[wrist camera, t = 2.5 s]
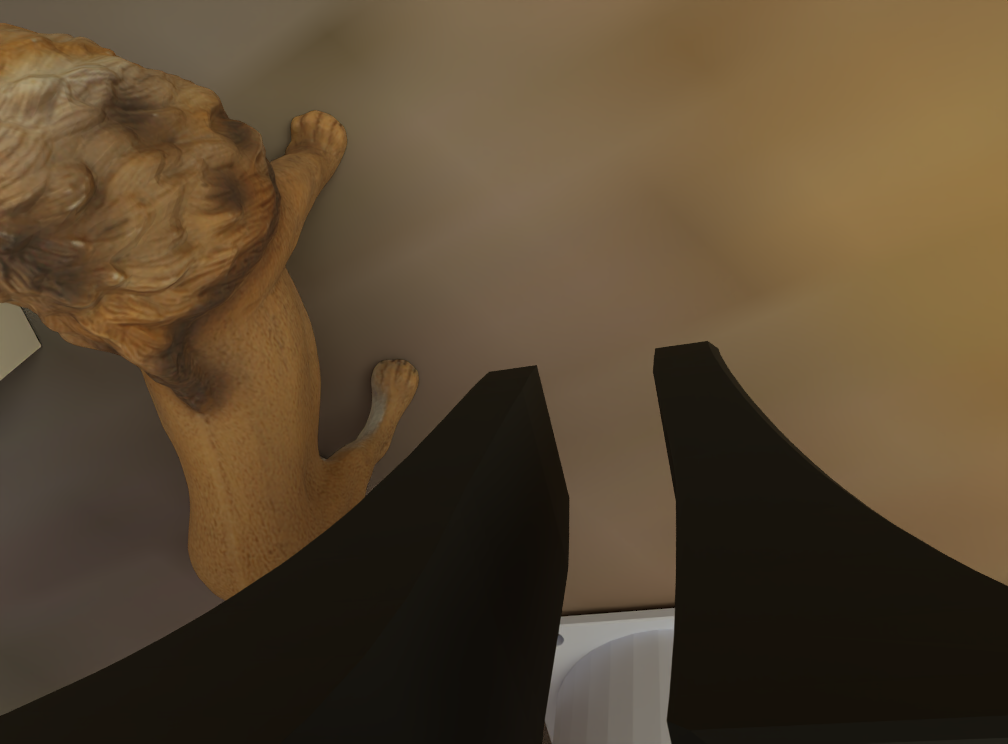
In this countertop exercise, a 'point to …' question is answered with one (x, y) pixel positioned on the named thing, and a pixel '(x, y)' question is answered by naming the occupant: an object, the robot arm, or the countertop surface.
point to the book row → (15, 338)
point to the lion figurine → (185, 284)
